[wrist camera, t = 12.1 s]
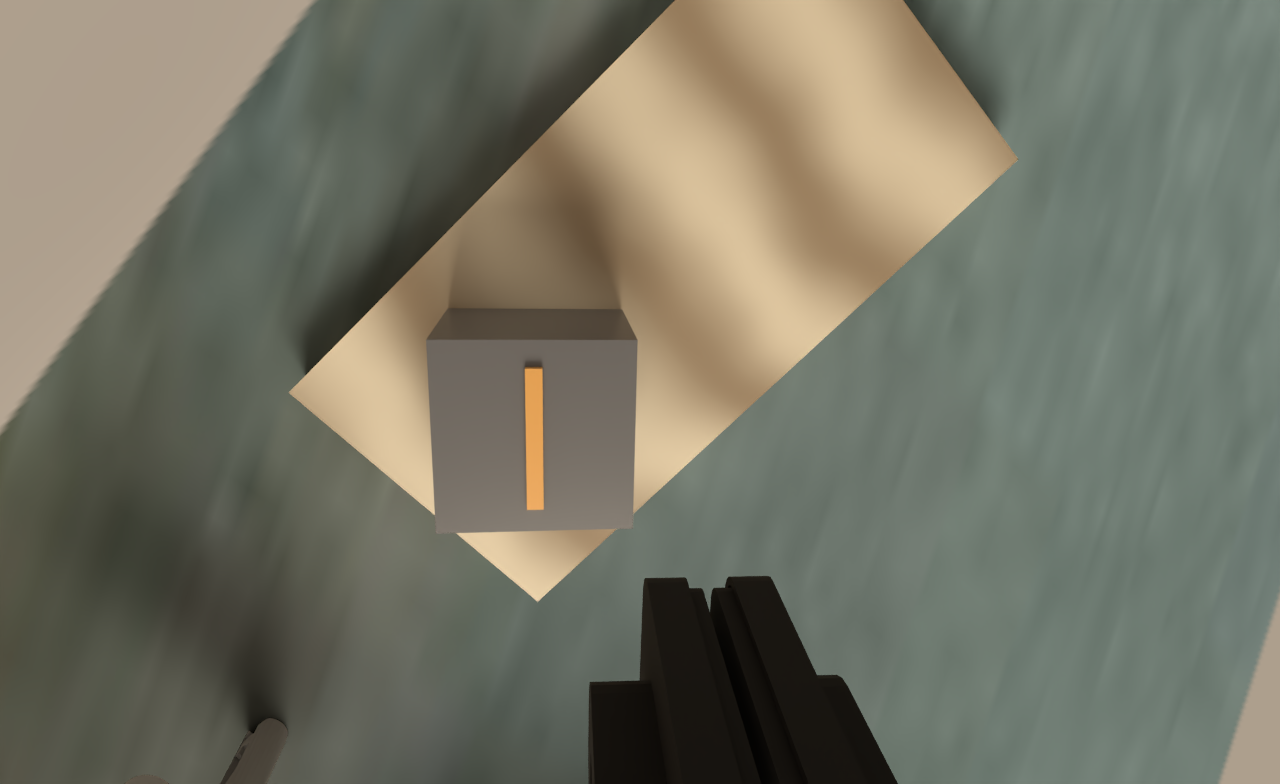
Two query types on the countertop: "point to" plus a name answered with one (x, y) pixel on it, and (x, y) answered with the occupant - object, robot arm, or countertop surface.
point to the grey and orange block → (532, 419)
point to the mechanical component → (246, 757)
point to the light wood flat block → (686, 230)
